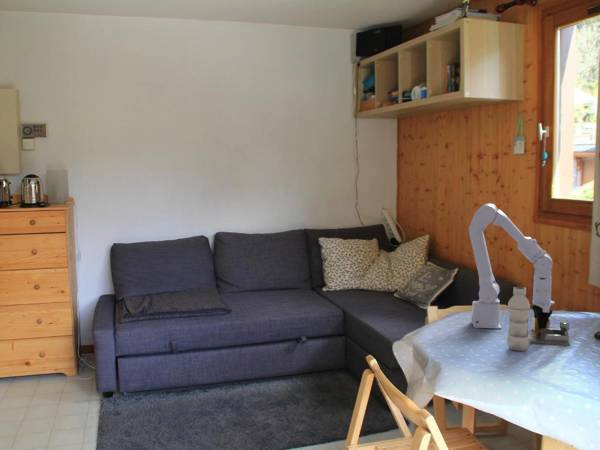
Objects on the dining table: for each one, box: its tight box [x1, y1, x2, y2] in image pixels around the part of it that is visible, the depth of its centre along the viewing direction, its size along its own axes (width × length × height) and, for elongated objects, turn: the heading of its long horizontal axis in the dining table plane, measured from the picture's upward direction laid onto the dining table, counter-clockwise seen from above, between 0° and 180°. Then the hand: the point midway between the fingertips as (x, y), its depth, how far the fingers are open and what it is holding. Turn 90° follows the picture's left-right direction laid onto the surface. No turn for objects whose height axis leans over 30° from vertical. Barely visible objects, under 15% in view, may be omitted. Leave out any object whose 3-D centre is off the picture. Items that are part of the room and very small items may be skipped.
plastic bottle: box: [506, 286, 531, 352], centre depth 179 cm, size 6×7×20 cm
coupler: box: [528, 321, 571, 346], centre depth 189 cm, size 13×10×6 cm
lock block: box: [532, 314, 551, 332], centre depth 198 cm, size 5×4×5 cm
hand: (540, 327), depth 198 cm, fingers closed on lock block, 4 cm apart
